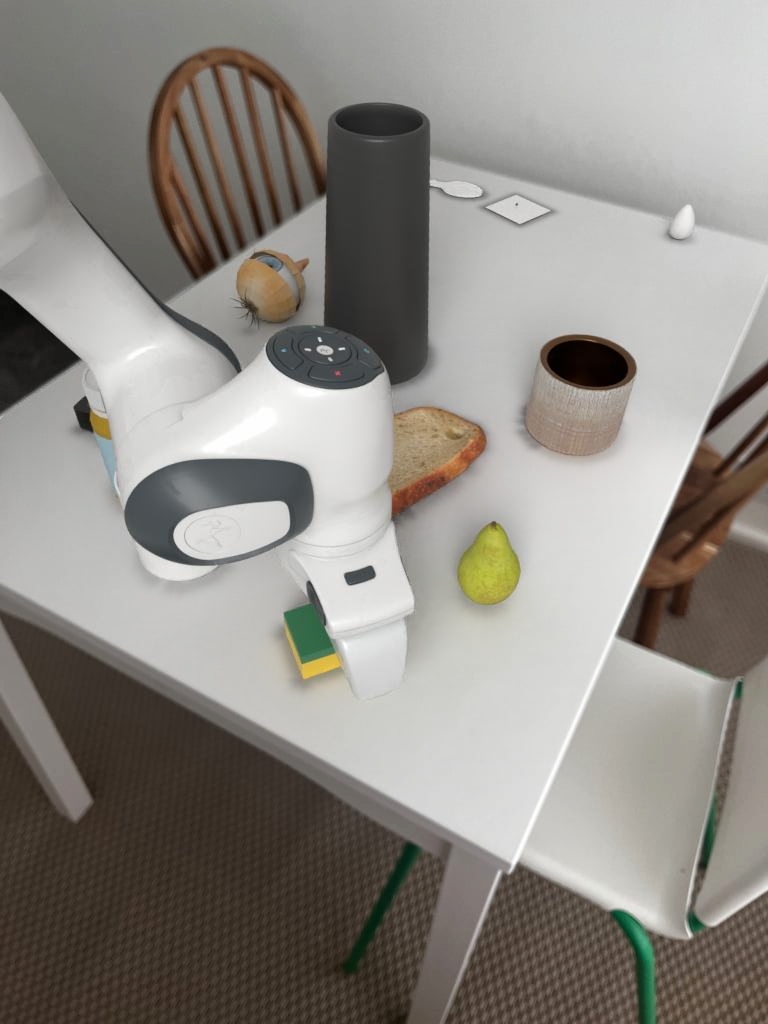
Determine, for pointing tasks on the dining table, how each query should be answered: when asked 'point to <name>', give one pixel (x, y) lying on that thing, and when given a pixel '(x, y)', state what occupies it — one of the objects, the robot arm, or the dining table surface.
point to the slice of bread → (430, 453)
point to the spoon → (458, 188)
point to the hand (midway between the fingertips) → (336, 632)
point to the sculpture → (271, 285)
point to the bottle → (100, 423)
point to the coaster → (518, 209)
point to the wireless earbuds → (83, 414)
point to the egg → (683, 223)
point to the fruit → (489, 567)
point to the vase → (379, 232)
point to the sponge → (309, 641)
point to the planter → (579, 393)
